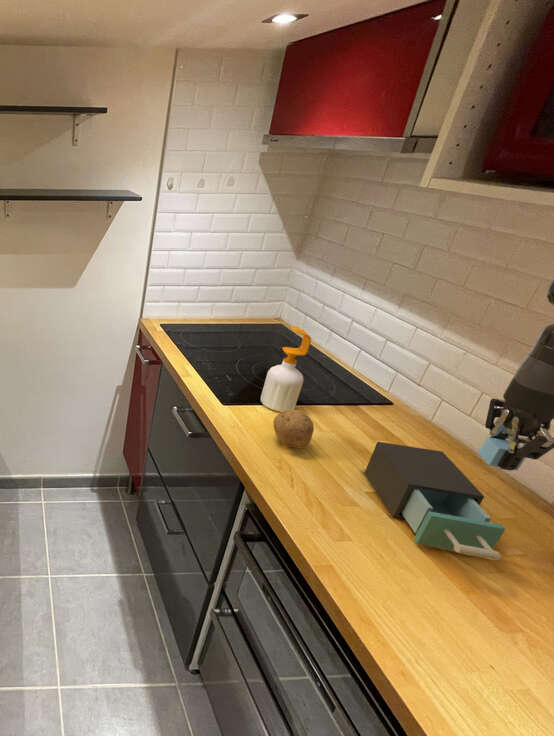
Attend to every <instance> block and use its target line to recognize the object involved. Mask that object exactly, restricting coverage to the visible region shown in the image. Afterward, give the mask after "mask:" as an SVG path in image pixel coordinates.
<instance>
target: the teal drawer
mask: <svg viewBox="0 0 554 736" xmlns="http://www.w3.org/2000/svg"><path fill="white" fill-rule="evenodd" d="M401 513H402V515H403V516H404V518H405V519H406V520H405V521H406V522H407V524H408V525H409V527H410V528H411V530H412V531H413V533H414V534H415V536H414V538H413V540H414V541H415V543H416V544H417V545H421V546H427V547H432V548H437V549H442V550H447V551H452V552H456V553H457V554H463V555H469V556H472V557H478V558H484V559H488V560H495V561H500V559H501V553H500V552H499V551H497V550H494V549H495V547H496V546H497V543H498V542H499V540H500V539H501V537H502V536H503V534H504V533H505V531H506V527H504V526H503V524H501V523H496V522H492V521H491V520H492V518H491V517H490V516H489V514H488V513H487V512H486V511H485V510H484V509H483V508H482V507H481V505H478V503H477V502H476V501H475V500H474V499H473V498H471V497H465V496H459V495H453V494H447V493H441V492H435V491H429V490H423V489H418V488H412V489H411V491H410V493H409V495H408V497H407V499H406V501H405V503H404V505H403V507H402V510H401ZM490 521H491V522H490Z"/></svg>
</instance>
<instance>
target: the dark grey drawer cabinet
mask: <svg viewBox="0 0 554 736" xmlns="http://www.w3.org/2000/svg"><path fill="white" fill-rule="evenodd" d="M363 473H364V474H365V476H366V478H367V480H368V481H369V483H370V484H371V486H372V487H373V488H374V490H375V492H376V493H377V495H378V496H379V499H381V501H382V502H383V503H382V504H384V506H385V507H386V508H387V510H388V512H389V513H390V515H391V517H392V518H394V519H399V520H405V521H406V519H405V518H404V516H403V515H402V513H401V510H402V507H403V505H404V503H405V501H406V499H407V497H408V495H409V493H410V491H411V489H412V488H418V489H423V490H429V491H435V492H441V493H447V494H453V495H459V496H465V497H471V498H473V499H474V500H475V501H476V502H477V503H478V505H479V506H481V503H482V501H483V500H484V498H485V496H484V495H483V493H482V492H481V491H480V490H479V488H478V487H476V485H475V484H474V483H472V481H471V480H470V479H469V478H468V477H467V476H466V475H465V474H464V473H463V472H462V471H461V469H460V468H458V466H457V465H456V464H455V463H454V462H453V461H452V460H451V458H449V456H448V455H447V454H445V452H444V451H442V450H435V449H429V448H423V447H415V446H408V445H403V444H397V443H396V444H395V443H390V442H382V441H376V444H375V447H374V449H373V451H372V454H371V456H370V459H369V461H368V463H367V466H366V468H365V471H364V472H363Z"/></svg>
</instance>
